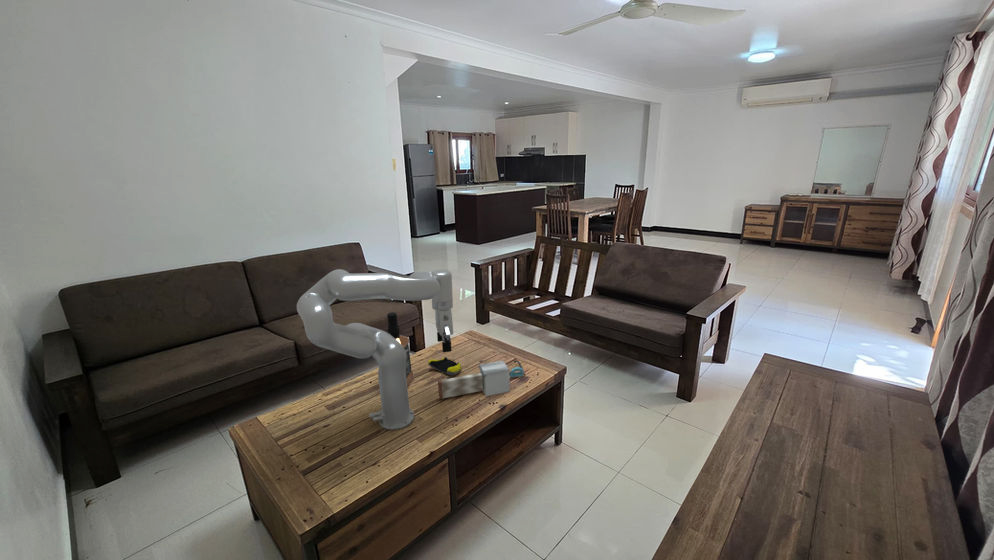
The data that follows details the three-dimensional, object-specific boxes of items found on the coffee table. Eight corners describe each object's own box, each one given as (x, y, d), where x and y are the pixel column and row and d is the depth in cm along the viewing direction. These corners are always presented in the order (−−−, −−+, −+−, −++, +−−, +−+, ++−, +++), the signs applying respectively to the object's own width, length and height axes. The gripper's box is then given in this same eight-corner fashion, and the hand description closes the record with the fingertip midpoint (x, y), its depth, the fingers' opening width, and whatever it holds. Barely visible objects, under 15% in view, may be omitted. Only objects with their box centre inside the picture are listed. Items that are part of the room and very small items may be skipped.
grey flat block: (439, 399, 157) (438, 383, 154) (438, 396, 158) (437, 380, 156) (482, 390, 162) (482, 375, 160) (481, 387, 164) (480, 372, 162)
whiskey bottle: (405, 391, 164) (398, 318, 155) (383, 389, 166) (374, 317, 157) (414, 377, 174) (408, 309, 165) (393, 376, 176) (385, 308, 166)
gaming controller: (450, 381, 171) (466, 372, 178) (450, 370, 169) (465, 360, 177) (426, 371, 180) (442, 362, 187) (425, 360, 178) (441, 351, 186)
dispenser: (485, 396, 159) (484, 374, 156) (479, 386, 167) (478, 364, 164) (509, 391, 162) (509, 369, 159) (503, 381, 170) (502, 360, 167)
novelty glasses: (492, 381, 170) (492, 371, 169) (488, 365, 184) (488, 355, 183) (524, 379, 172) (524, 368, 171) (518, 362, 186) (518, 352, 185)
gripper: (458, 310, 140) (459, 354, 144) (447, 295, 155) (449, 336, 160) (436, 312, 137) (438, 357, 142) (428, 297, 153) (430, 338, 158)
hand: (444, 346), depth 151 cm, fingers open, 9 cm apart
